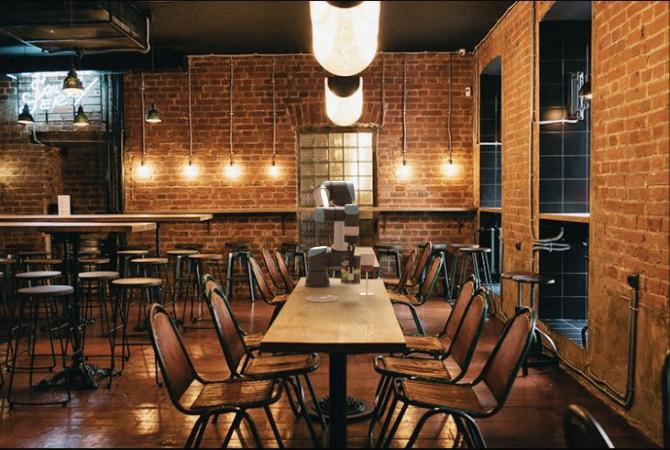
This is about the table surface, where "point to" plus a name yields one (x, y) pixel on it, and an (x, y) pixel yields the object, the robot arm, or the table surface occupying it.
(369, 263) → the wineglass
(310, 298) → the plate
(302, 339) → the table surface
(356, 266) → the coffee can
